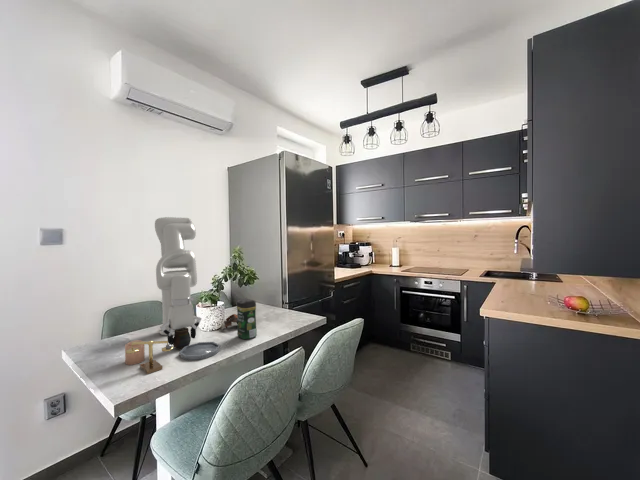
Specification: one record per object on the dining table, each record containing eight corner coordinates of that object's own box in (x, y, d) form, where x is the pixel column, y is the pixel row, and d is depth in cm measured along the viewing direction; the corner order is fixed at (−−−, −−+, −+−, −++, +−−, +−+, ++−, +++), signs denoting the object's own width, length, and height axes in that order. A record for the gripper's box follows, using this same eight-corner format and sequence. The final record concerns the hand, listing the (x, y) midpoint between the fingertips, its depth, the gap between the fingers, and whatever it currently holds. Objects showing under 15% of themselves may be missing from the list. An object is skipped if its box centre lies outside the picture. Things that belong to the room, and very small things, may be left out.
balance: (123, 372, 100) (122, 341, 100) (169, 358, 112) (168, 330, 112) (129, 380, 95) (128, 346, 95) (177, 364, 107) (176, 334, 107)
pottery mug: (242, 331, 145) (233, 318, 143) (227, 338, 147) (218, 326, 145) (249, 319, 157) (241, 307, 155) (235, 325, 158) (227, 314, 156)
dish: (174, 353, 117) (174, 349, 117) (208, 343, 128) (208, 339, 128) (189, 363, 107) (189, 359, 107) (225, 351, 118) (225, 347, 118)
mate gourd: (186, 342, 129) (186, 321, 129) (194, 347, 124) (194, 324, 124) (169, 347, 123) (169, 325, 123) (177, 352, 118) (177, 328, 118)
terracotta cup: (123, 361, 110) (122, 342, 110) (141, 356, 115) (141, 338, 115) (128, 366, 105) (127, 346, 106) (147, 360, 110) (146, 341, 110)
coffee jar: (234, 336, 136) (234, 298, 136) (249, 332, 142) (248, 295, 142) (244, 341, 129) (243, 301, 129) (259, 337, 135) (258, 298, 134)
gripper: (196, 297, 132) (197, 333, 132) (156, 304, 119) (157, 344, 119) (204, 299, 127) (205, 337, 127) (163, 307, 114) (164, 348, 114)
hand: (182, 340), depth 123 cm, fingers open, 9 cm apart
